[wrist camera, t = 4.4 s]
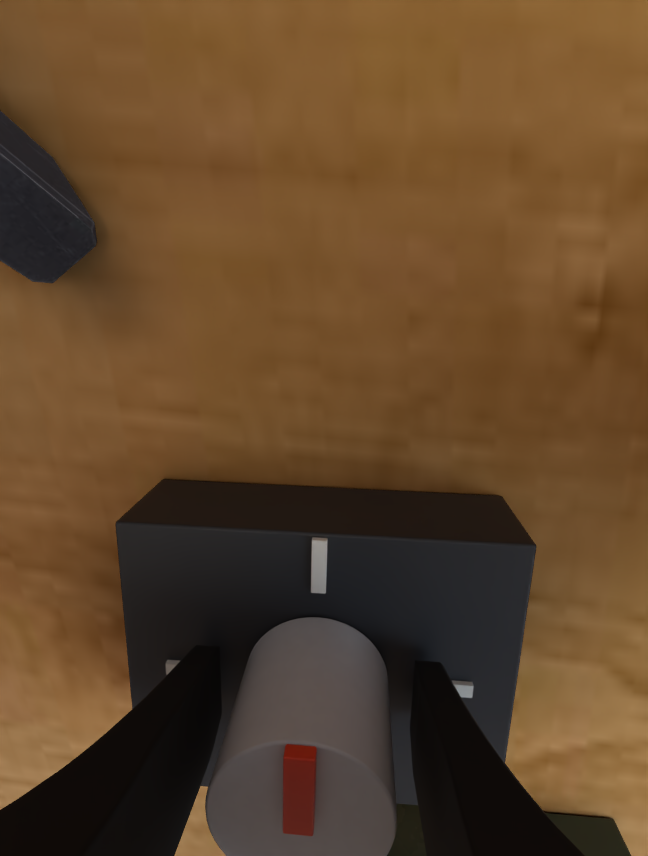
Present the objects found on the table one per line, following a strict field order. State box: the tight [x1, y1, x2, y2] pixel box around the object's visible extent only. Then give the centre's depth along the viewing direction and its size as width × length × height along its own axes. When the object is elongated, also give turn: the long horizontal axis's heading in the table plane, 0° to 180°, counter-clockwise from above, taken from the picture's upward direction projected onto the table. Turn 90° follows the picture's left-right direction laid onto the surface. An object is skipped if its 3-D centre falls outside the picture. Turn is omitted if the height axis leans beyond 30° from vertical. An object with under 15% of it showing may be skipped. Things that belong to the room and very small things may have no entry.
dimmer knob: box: [205, 617, 397, 856], centre depth 11 cm, size 4×4×4 cm
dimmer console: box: [116, 480, 536, 805], centre depth 14 cm, size 10×8×3 cm
